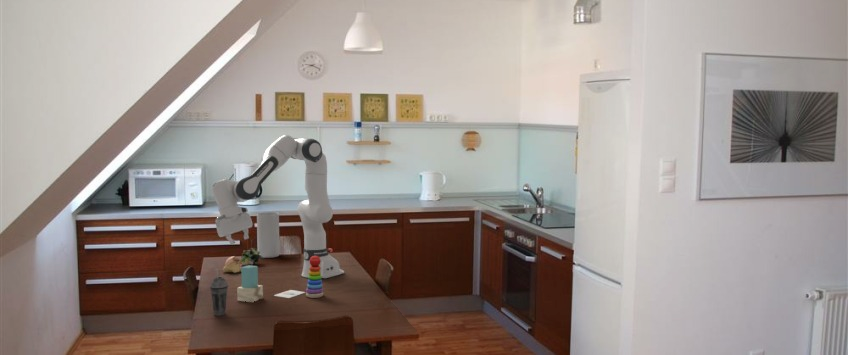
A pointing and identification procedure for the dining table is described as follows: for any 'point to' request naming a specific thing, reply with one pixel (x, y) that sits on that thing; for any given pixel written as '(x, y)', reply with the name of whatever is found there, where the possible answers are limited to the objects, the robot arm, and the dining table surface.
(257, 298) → the base block
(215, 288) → the beverage cup
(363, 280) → the dining table surface
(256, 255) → the green leafy clump
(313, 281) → the stacking toy
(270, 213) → the cylinder vase
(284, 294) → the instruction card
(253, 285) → the teal brick
